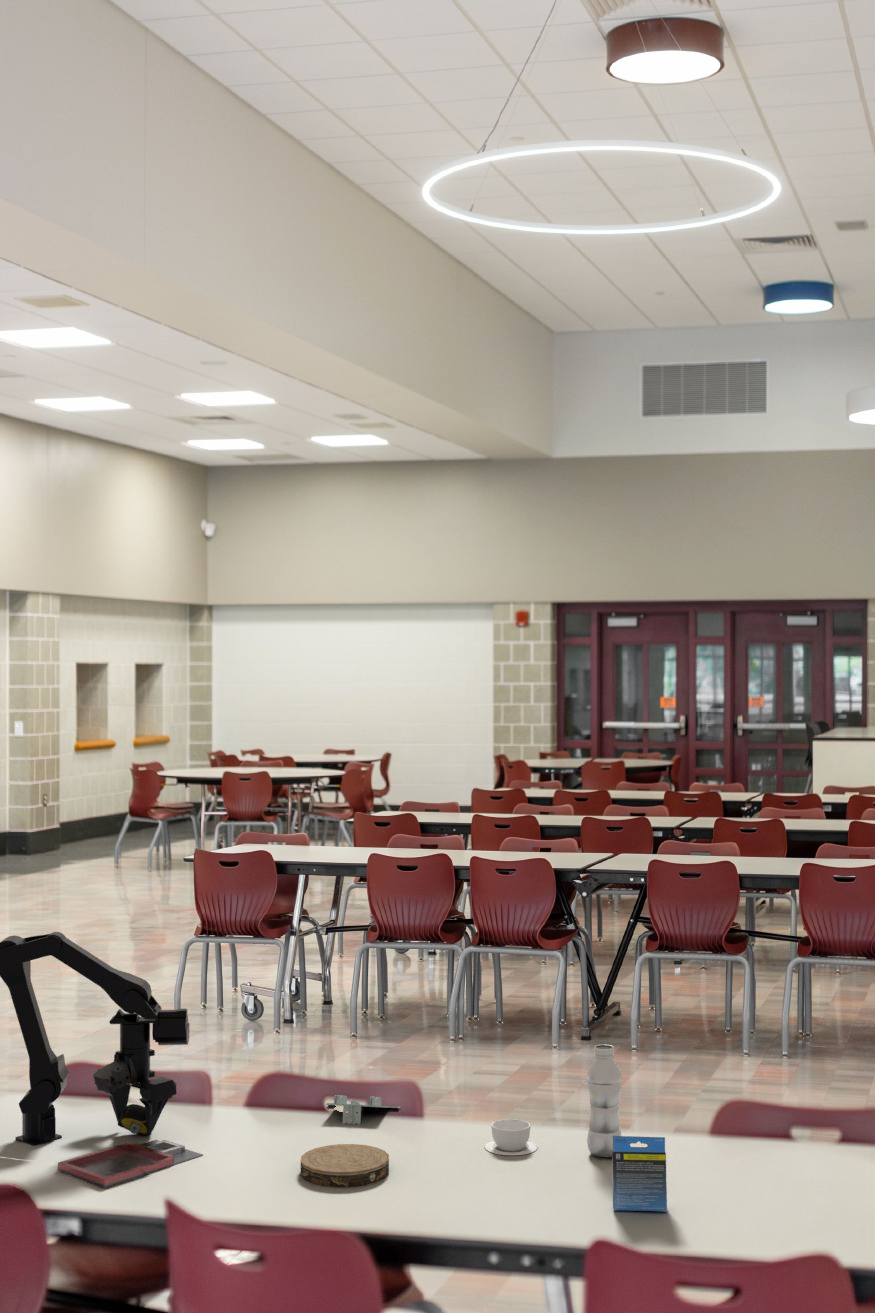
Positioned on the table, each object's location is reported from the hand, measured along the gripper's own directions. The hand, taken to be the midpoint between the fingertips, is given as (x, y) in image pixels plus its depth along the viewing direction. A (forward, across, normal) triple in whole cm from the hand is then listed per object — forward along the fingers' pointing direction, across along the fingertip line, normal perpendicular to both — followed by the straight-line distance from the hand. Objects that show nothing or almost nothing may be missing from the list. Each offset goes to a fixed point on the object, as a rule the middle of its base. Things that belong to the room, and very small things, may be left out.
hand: (135, 1127), depth 282 cm
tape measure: (+2, 0, 0) cm, 2 cm away
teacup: (+3, +59, +42) cm, 73 cm away
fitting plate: (+2, +12, -10) cm, 16 cm away
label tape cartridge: (+3, +95, +31) cm, 100 cm away
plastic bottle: (+2, +75, +50) cm, 90 cm away
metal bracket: (+1, +29, +42) cm, 52 cm away
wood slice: (+3, +45, +12) cm, 47 cm away
